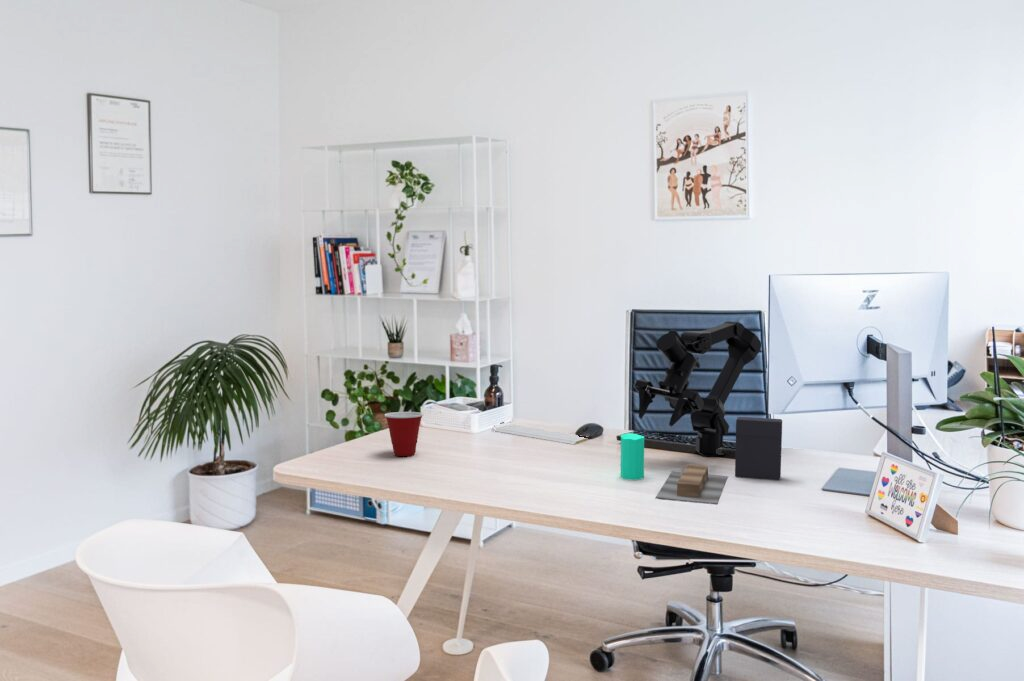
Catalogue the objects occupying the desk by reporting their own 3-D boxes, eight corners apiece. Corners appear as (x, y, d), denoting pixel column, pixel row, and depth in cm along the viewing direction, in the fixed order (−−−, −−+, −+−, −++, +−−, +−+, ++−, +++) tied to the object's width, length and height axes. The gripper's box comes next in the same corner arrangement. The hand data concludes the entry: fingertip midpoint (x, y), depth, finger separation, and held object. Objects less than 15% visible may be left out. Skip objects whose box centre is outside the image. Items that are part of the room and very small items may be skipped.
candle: (618, 473, 225) (618, 428, 223) (641, 473, 225) (641, 427, 224) (623, 480, 219) (623, 433, 217) (646, 479, 219) (647, 432, 218)
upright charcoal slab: (780, 476, 221) (782, 418, 219) (780, 481, 217) (781, 421, 215) (736, 473, 225) (737, 415, 223) (734, 477, 221) (736, 419, 219)
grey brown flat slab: (671, 472, 226) (672, 459, 225) (727, 477, 221) (727, 464, 221) (655, 498, 203) (655, 484, 203) (717, 504, 199) (717, 490, 198)
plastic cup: (425, 449, 252) (424, 408, 250) (422, 459, 241) (421, 416, 239) (387, 450, 251) (386, 409, 250) (383, 459, 240) (382, 416, 239)
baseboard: (571, 448, 255) (589, 441, 263) (571, 438, 255) (589, 432, 263) (490, 434, 274) (510, 428, 282) (490, 425, 273) (510, 420, 281)
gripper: (720, 395, 231) (696, 445, 226) (660, 382, 244) (636, 429, 238) (706, 372, 224) (682, 423, 218) (645, 360, 236) (620, 408, 231)
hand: (654, 421), depth 227 cm, fingers open, 9 cm apart
